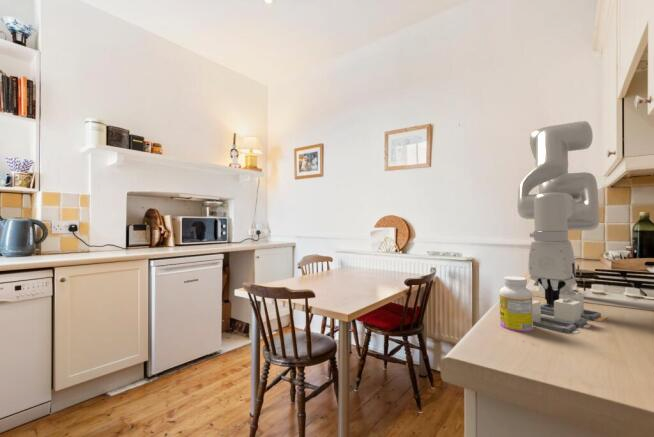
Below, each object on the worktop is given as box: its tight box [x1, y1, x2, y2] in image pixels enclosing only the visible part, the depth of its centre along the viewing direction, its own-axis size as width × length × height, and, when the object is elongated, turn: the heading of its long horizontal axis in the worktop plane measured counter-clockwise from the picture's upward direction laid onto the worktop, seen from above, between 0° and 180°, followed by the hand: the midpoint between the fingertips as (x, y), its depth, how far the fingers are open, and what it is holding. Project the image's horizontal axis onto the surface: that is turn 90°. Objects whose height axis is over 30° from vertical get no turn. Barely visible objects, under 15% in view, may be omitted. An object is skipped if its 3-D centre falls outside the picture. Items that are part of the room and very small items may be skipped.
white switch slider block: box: [559, 290, 585, 315], centre depth 83 cm, size 4×4×6 cm
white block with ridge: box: [553, 298, 581, 323], centre depth 77 cm, size 4×4×6 cm
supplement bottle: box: [499, 275, 534, 333], centre depth 74 cm, size 7×7×13 cm
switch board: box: [532, 299, 608, 335], centre depth 80 cm, size 22×15×7 cm
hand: (552, 303), depth 87 cm, fingers closed
